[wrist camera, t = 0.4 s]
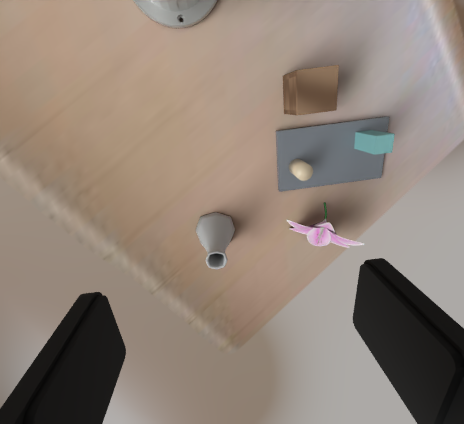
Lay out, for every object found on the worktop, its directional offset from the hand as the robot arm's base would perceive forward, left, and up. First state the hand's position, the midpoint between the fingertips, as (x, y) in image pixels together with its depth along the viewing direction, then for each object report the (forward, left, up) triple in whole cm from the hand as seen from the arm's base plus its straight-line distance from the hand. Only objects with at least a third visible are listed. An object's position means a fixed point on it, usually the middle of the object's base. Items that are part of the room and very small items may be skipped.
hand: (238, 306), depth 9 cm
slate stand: (+3, +19, -34) cm, 39 cm away
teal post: (+1, +24, -33) cm, 40 cm away
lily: (+15, +16, -34) cm, 40 cm away
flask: (+14, -2, -34) cm, 37 cm away
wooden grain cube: (-7, +14, -34) cm, 37 cm away
